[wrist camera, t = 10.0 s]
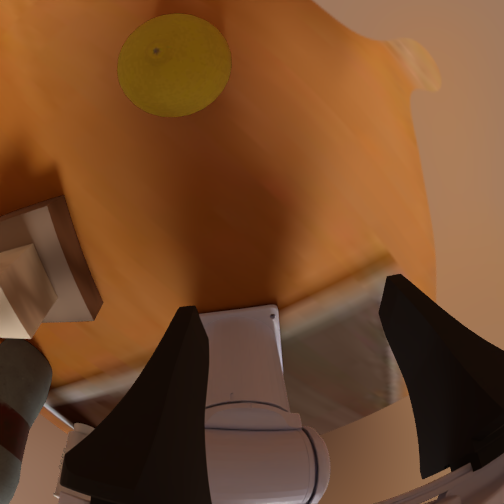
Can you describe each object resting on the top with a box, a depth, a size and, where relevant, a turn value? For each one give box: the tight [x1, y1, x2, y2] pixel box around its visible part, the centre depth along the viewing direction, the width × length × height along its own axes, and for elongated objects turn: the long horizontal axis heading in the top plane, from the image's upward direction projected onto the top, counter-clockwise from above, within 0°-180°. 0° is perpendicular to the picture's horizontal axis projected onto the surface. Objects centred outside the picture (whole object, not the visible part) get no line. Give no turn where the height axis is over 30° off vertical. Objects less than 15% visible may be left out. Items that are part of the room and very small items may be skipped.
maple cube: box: [0, 244, 58, 339], centre depth 16 cm, size 5×5×5 cm
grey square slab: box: [0, 195, 103, 323], centre depth 19 cm, size 10×10×3 cm
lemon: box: [117, 13, 232, 117], centre depth 11 cm, size 6×6×8 cm
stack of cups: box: [53, 423, 95, 500], centre depth 28 cm, size 7×7×15 cm
